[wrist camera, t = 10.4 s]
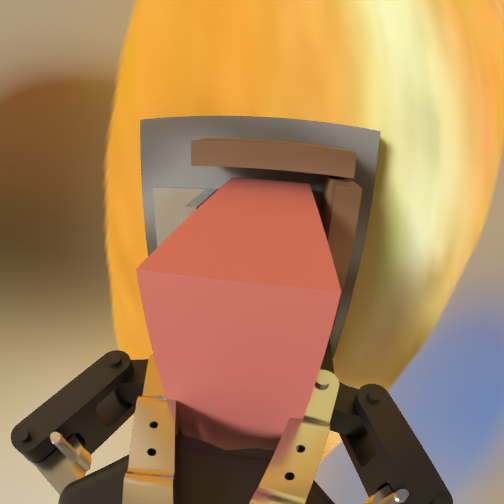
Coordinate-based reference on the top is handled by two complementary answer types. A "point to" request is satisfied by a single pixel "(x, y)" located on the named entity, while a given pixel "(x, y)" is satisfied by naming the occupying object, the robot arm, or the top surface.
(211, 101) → the top surface
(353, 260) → the book rack
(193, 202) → the bookend
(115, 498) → the robot arm
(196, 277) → the book
